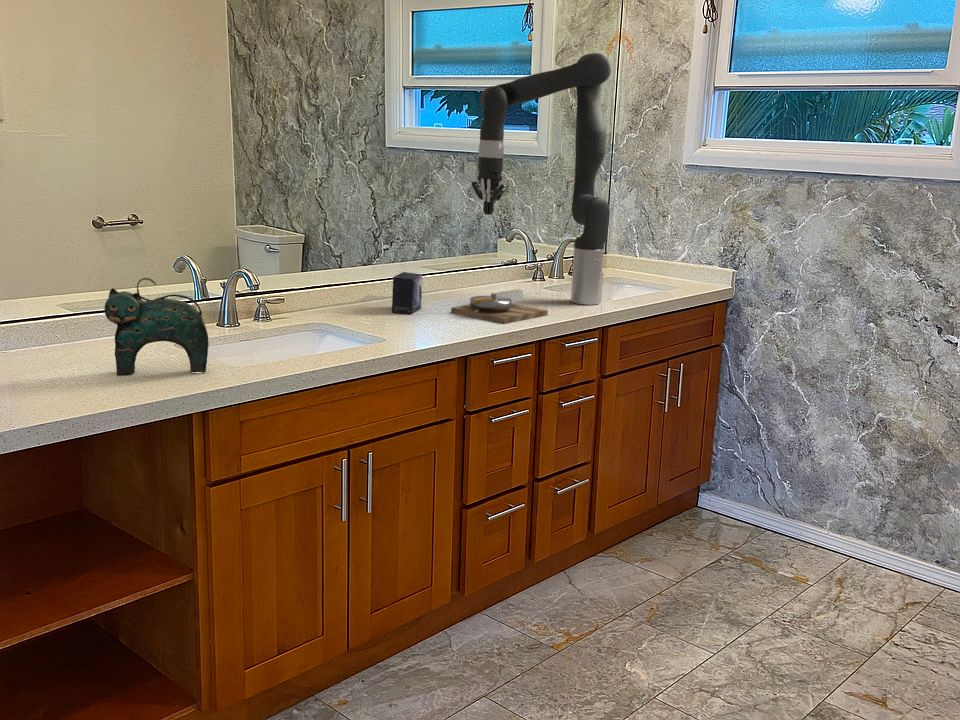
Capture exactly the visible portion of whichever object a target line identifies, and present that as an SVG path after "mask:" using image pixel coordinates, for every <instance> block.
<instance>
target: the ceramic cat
mask: <svg viewBox="0 0 960 720" xmlns="http://www.w3.org/2000/svg"><path fill="white" fill-rule="evenodd" d="M142 281H149V282H151V283H153V284H154V285H157V283H156V282H155V280H153V279H152V278H149V277H144V278H143V277H142V278H141V279H138V281H137V285H136V292H135V293H133V292H129V291H117V290H116V289H115V288H114V287H112V288H111V289H110V291H109V293H108V298H107V300H106V301H105V303H104V315H105V316H106V318H107V320H108V321H110V322H111V323H113V324H115V325H117V326H116V330H115V333H114V358H115V365H116V368H115V369H116V376H132V375H134V373H135V370H136V360H137V357H138V356H137V355H138V353H139V352H140V351H141V349H143V347H144V346H146V345H148V344H151V343H156V342H168V343H173V344H176V345H178V346H180V347H182V348H183V349H184V350H185V352H186V354H187V357H188V360H189V367H190V368H189V369H190V373H191V372H194V373H195V372H205V373H206V371H207V365H208V363H207V362H208V356H209V355H208V354H209V353H208V352H209V345H210V344H209V334H208V330H207V327H206V325H205V322H204V319H203V317H202V315H203V313H202V309H201V307H200V305H199V304H198V303H197V302H196V300H194V298H191V297H189V296H187V295H183V294H175V293H174V294H166V295H164V296H160V297H158V298H157V297H156V298H154V299H148V298H146V297H143V296H141V294H140V290H139V285H140V283H141V282H142ZM169 297H170V298H169ZM171 297H175V298H176V297H177V298H182V299H187V300H189V301H191V302H192V303H193V304H194V305H196V307H197V308H198V309H196V308H195V306H193V305H191V304H189V302H185V301H184V300H183V301H182V300H179V299H174V298H171ZM198 310H199V311H198Z"/></svg>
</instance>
